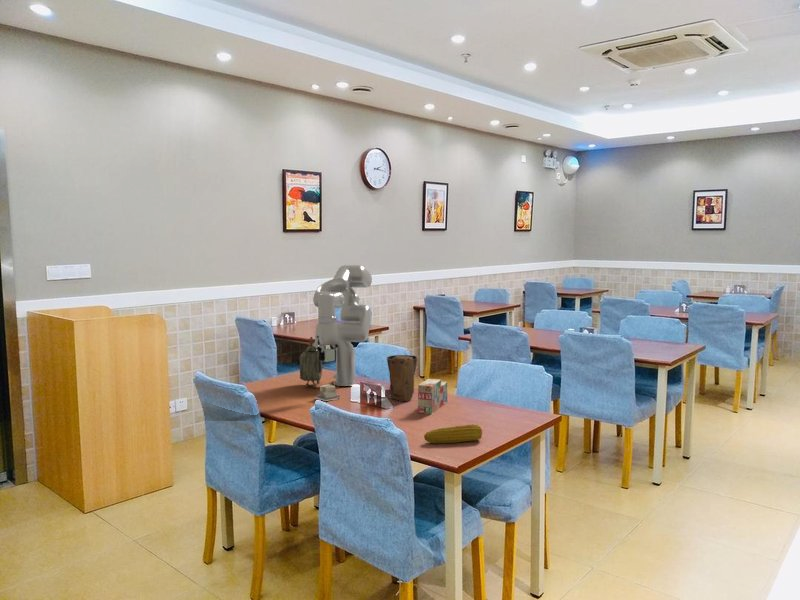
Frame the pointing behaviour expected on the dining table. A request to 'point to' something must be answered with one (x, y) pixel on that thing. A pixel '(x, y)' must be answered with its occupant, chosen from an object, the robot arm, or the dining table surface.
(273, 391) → the dining table surface
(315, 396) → the blueprint pad
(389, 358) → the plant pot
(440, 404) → the stack of blocks
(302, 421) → the dining table surface
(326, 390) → the birch block
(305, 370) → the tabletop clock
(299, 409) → the dining table surface
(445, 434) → the food
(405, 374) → the brown tapered cylinder
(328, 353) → the sage block
